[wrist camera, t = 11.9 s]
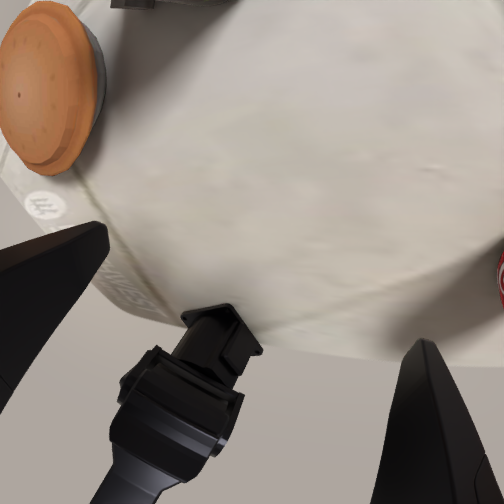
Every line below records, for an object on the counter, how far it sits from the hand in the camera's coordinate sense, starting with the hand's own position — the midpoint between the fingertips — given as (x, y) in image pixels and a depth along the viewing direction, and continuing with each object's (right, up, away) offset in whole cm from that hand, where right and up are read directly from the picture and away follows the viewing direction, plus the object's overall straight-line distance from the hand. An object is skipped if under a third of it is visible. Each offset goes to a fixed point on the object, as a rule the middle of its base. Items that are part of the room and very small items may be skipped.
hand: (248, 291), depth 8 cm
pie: (-16, +16, +13) cm, 26 cm away
